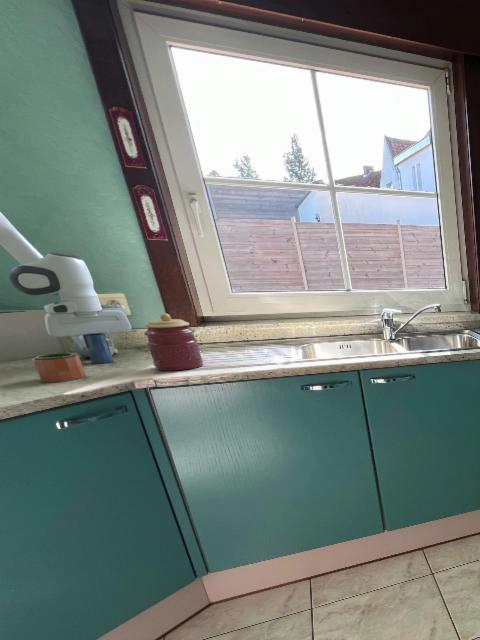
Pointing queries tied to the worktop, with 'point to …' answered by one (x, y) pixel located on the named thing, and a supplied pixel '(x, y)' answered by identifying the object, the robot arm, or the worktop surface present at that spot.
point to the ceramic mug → (84, 351)
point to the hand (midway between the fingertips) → (97, 347)
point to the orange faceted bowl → (59, 367)
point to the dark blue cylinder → (98, 348)
